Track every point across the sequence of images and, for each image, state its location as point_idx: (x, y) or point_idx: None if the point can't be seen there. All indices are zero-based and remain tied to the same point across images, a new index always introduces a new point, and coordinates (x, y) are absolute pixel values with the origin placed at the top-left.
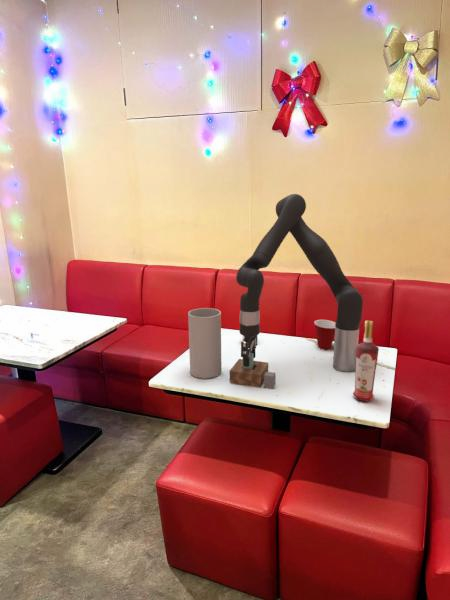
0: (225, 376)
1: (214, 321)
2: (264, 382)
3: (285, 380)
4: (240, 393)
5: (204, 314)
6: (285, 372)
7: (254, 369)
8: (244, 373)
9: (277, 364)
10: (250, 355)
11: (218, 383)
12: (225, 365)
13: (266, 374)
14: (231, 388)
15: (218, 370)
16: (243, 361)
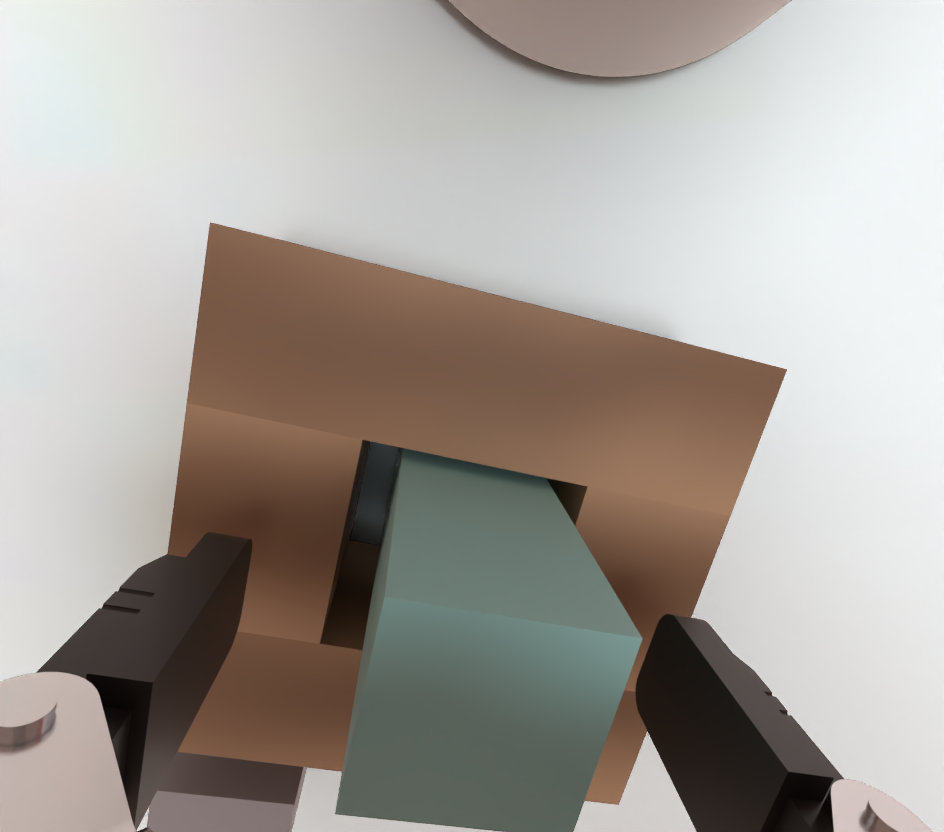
0: (489, 161)
1: None
2: None
3: (432, 824)
4: (5, 406)
5: None
6: (619, 815)
7: (339, 650)
8: (177, 504)
9: (817, 740)
10: (395, 789)
11: (243, 67)
12: (857, 133)
13: (187, 813)
14: (121, 278)
15: (498, 1)
16: (160, 591)
